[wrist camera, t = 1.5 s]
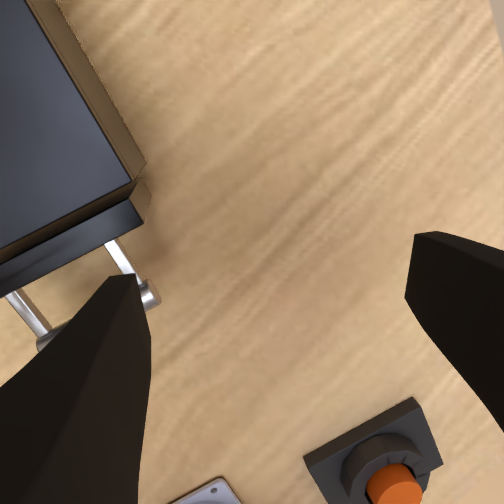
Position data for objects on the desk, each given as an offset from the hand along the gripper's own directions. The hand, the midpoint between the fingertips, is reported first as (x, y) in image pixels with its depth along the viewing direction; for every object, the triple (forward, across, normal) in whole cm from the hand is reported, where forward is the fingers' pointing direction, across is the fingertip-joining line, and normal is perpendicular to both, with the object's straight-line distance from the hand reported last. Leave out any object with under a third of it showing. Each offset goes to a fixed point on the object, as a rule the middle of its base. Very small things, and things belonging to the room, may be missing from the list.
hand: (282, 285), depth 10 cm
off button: (+8, -10, +25) cm, 28 cm away
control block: (+10, -10, +26) cm, 29 cm away
